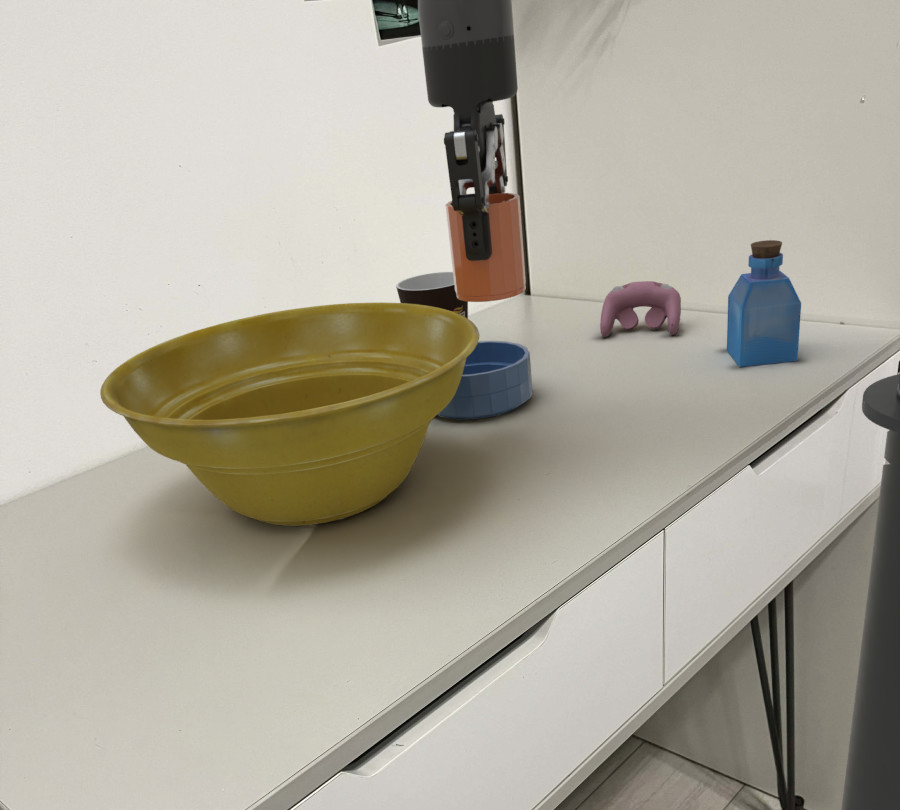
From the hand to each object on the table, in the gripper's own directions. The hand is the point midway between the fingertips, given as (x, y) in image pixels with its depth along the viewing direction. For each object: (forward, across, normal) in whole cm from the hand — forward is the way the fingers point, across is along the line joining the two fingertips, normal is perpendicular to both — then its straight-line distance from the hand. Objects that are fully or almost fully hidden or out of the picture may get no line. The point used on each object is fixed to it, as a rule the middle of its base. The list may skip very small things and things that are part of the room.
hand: (486, 250), depth 86 cm
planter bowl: (+18, -12, +15) cm, 27 cm away
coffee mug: (+18, +24, +13) cm, 33 cm away
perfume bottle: (+18, +22, -26) cm, 38 cm away
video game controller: (+18, +34, -12) cm, 40 cm away
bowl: (+18, +10, +5) cm, 21 cm away
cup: (+4, 0, 0) cm, 4 cm away
